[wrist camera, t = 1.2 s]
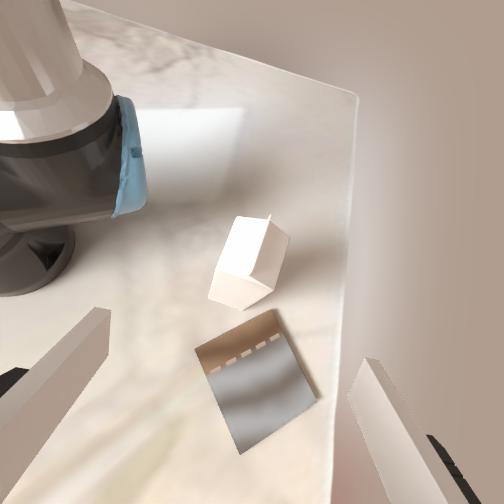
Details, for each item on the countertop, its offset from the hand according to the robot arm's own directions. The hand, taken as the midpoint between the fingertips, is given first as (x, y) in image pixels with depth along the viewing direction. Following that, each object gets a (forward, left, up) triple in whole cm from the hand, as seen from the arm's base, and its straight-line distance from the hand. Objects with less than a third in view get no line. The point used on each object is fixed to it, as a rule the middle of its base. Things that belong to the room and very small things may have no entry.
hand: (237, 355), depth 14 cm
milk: (-7, +7, -29) cm, 30 cm away
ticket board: (+7, +4, -29) cm, 30 cm away
